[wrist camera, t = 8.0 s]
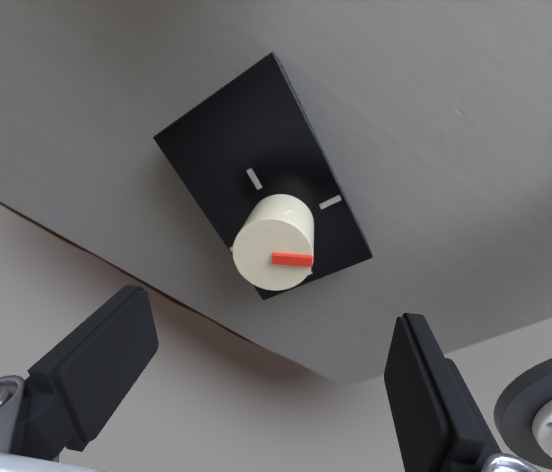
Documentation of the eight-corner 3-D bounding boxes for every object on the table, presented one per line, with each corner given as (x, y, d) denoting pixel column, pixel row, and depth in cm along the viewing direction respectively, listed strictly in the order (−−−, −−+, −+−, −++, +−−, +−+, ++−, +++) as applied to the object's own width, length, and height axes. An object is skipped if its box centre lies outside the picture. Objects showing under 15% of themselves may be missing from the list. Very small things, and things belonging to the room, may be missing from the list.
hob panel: (366, 239, 22) (373, 258, 19) (269, 279, 25) (262, 302, 22) (279, 59, 17) (272, 50, 15) (173, 133, 20) (150, 137, 17)
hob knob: (251, 251, 20) (233, 290, 16) (249, 192, 18) (228, 218, 14) (311, 255, 20) (310, 297, 15) (316, 195, 18) (316, 223, 13)
